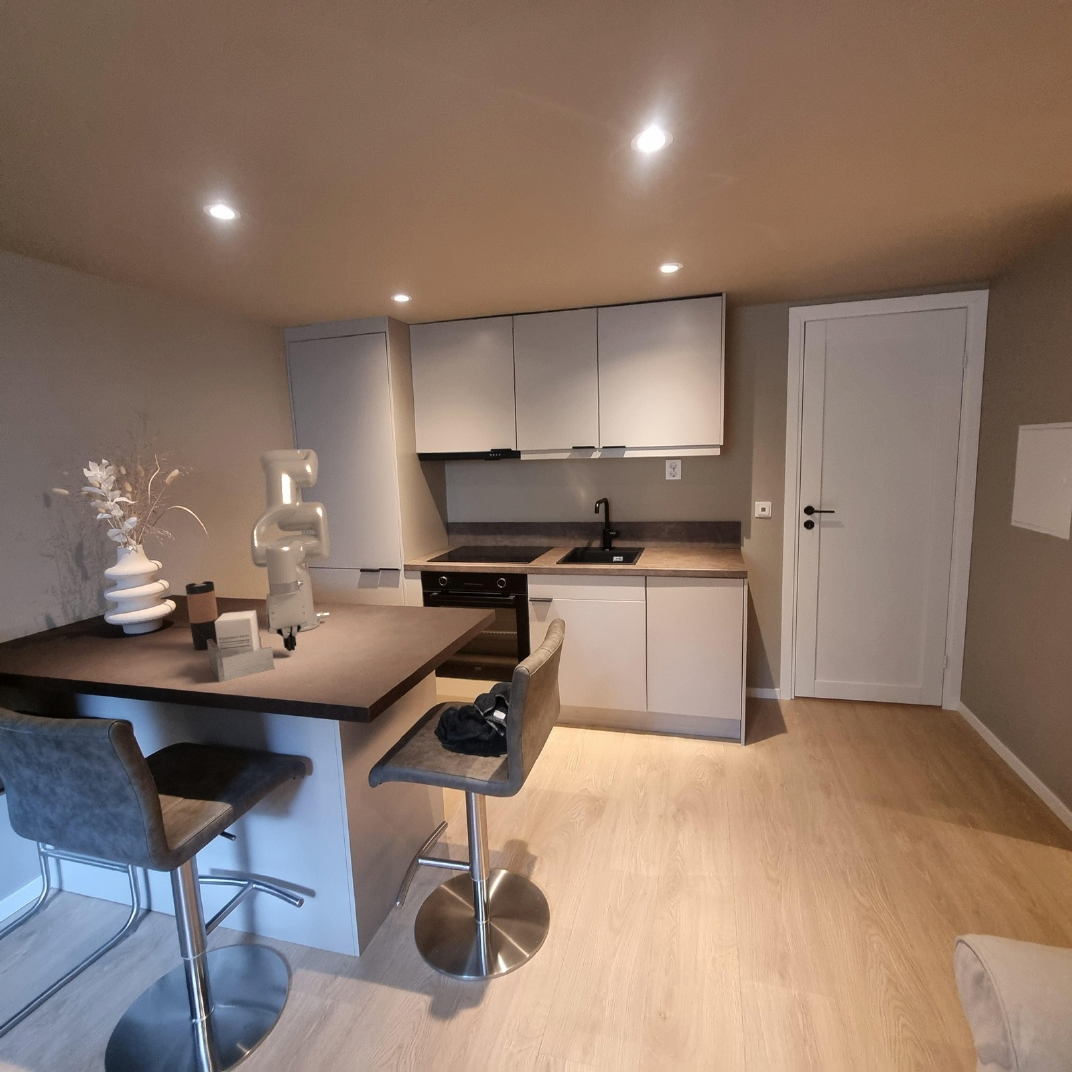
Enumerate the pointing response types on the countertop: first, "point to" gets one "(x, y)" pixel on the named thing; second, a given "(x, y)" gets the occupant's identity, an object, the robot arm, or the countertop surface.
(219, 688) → the countertop surface
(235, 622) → the supplement box
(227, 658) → the bracket
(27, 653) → the countertop surface
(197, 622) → the travel mug
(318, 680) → the countertop surface
